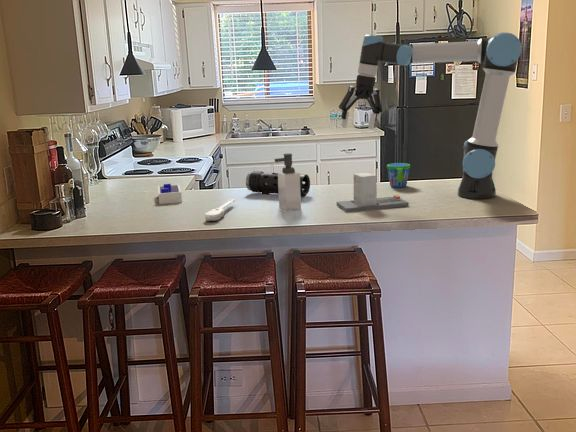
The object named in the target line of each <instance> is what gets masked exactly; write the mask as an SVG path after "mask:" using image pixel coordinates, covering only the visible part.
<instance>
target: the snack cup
mask: <svg viewBox="0 0 576 432" xmlns="http://www.w3.org/2000/svg"><path fill="white" fill-rule="evenodd" d="M386 169H387V174H388V181H389V186H390V187H391V188H405V187H407V184H408V179H409V173H410V169H411V164H410V163H407V162H406V163H405V162H393V163H391V162H390V163H388V164H387V165H386Z"/></svg>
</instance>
